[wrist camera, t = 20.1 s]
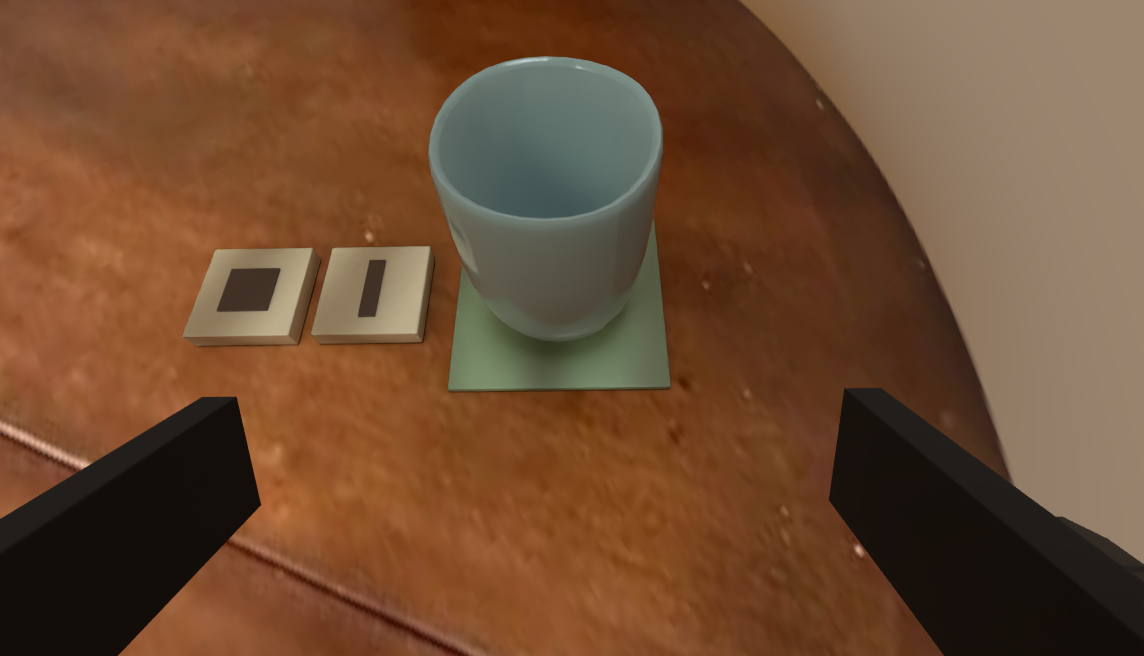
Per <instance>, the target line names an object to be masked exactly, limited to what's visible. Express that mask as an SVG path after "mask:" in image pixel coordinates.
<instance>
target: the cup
mask: <svg viewBox="0 0 1144 656" xmlns="http://www.w3.org/2000/svg"><path fill="white" fill-rule="evenodd" d="M428 161H429V166H430V171H431V176H432V181H433V185H434V188H435V192H436V195H437V198H438V201H439V204H440V207H441V209H442V212H443V215H444V218H445V221H446V223H447V226H448V229H449V231H450V234H451V237H452V240H453V242H454V245H455V247H456V250H457V252H458V255H459V257H460V260H461V262H462V264H463V266H464V269H465V271H466V273H467V275H468V277H469V279H470V281H471V283H472V285H473V286H474V288H475V290H476V292H477V294H478V296H479V297H480V299H481V300H482V302H483V303H484V305H485V306H486V307H487V308H488V309H489V310H490V311H491V313H492V314H493V315H494V316H495V317H496V318H497V319H498V320H499V321H500V322H502V323H503V324H505V325H506V326H508V327H509V328H511V329H512V330H514V331H515V332H518V333H520V334H523V335H525V336H527V337H531V338H535V339H539V340H543V341H556V342H561V341H574V340H578V339H582V338H586V337H589V336H591V335H593V334H595V333H597V332H599V331H601V330H602V329H604V328H605V327H606V326H607V325H609V324H610V323H611V322H612V321H613V320H614V319H615V318H616V317H617V316H618V314H619V313H620V312H621V311H622V309H623V308H624V307H625V305H626V303H627V302H628V300H629V298H630V296H631V294H632V292H633V290H634V287H635V285H636V283H637V280H638V278H639V275H640V272H641V268H642V265H643V261H644V257H645V253H646V249H647V245H648V241H649V237H650V232H651V227H652V222H653V217H654V212H655V206H656V200H657V194H658V189H659V183H660V176H661V169H662V161H663V128H662V123H661V119H660V114H659V112H658V110H657V108H656V106H655V104H654V102H653V100H652V98H651V97H650V96H649V94H648V93H647V92H646V91H645V90H644V89H643V88H642V87H641V85H640V84H638V83H637V82H636V81H634V80H633V79H631V78H630V77H628V76H627V75H625V74H624V73H621V72H619V71H617V70H615V69H612V68H610V67H608V66H605V65H601V64H598V63H594V62H591V61H586V60H580V59H574V58H567V57H532V58H522V59H517V60H512V61H507V62H503V63H500V64H497V65H495V66H492V67H489V68H486V69H484V70H483V71H481V72H479V73H477V74H475V75H474V76H472V77H470V78H469V79H468V80H466V81H465V82H464V83H463V84H461V85H460V86H459V87H458V88H457V89H456V90H455V91H454V92H453V93H452V94H451V95H450V97H449V98H448V99H447V100H446V101H445V103H444V104H443V106H442V108H441V110H440V111H439V113H438V115H437V117H436V119H435V121H434V124H433V127H432V130H431V133H430V136H429V147H428Z"/></svg>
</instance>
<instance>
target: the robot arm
mask: <svg viewBox="0 0 1144 656" xmlns="http://www.w3.org/2000/svg"><path fill="white" fill-rule="evenodd" d="M829 501H830V502H831V504H832V505H833V506H834V508H835V509H836V510H837V512H838V513H839V515H840V516H841V517H842V519H843V520H844V521H845V523H846V524H847V525H848V527H849V528H850V529H851V531H852V532H853V533H854V535H855V536H856V537H857V539H858V540H859V541H860V543H861V544H862V545H863V547H864V548H865V550H866V551H867V552H868V554H869V555H870V556H871V558H872V559H873V560H874V562H875V563H876V564H877V566H878V567H879V568H880V570H881V571H882V572H883V574H884V575H885V576H886V578H887V579H888V581H889V582H890V583H891V585H892V586H893V587H894V589H895V590H896V591H897V593H898V594H899V595H900V597H901V598H902V599H903V601H904V602H905V603H906V605H907V606H908V607H909V609H910V610H911V611H912V613H913V614H914V616H915V617H916V618H917V620H918V621H919V622H920V624H921V625H922V626H923V628H924V629H925V630H926V632H927V633H928V634H929V636H930V637H931V638H932V640H933V641H934V642H935V644H936V645H937V646H938V648H939V649H940V651H941V652H942V653H943V655H944V656H1144V564H1143V563H1141V562H1140V561H1138V560H1137V559H1135V558H1134V557H1133V556H1131V555H1130V554H1128V553H1127V552H1126V551H1124V550H1123V549H1121V548H1120V547H1119V546H1117V545H1116V544H1114V543H1113V542H1111V541H1110V540H1109V539H1107V538H1105V537H1103V536H1101V535H1099V534H1097V533H1095V532H1093V531H1091V530H1088V529H1086V528H1084V527H1082V526H1080V525H1078V524H1076V523H1074V522H1072V521H1070V520H1068V519H1066V518H1064V517H1055V516H1054V515H1052V514H1051V513H1050V512H1048V511H1047V510H1046V509H1044V508H1043V507H1042V506H1040V505H1039V504H1038V503H1036V502H1035V501H1034V500H1032V499H1031V498H1029V497H1028V496H1027V495H1025V494H1024V493H1023V492H1021V491H1020V490H1019V489H1017V488H1016V487H1015V486H1013V485H1012V484H1010V483H1009V482H1008V481H1006V480H1005V479H1004V478H1002V477H1001V476H1000V475H998V474H997V473H996V472H994V471H993V470H991V469H990V468H989V467H987V466H986V465H985V464H983V463H982V462H981V461H979V460H978V459H977V458H975V457H974V456H972V455H971V454H970V453H968V452H967V451H966V450H964V449H963V448H962V447H960V446H959V445H958V444H956V443H955V442H953V441H952V440H951V439H949V438H948V437H947V436H945V435H944V434H943V433H941V432H940V431H939V430H937V429H936V428H934V427H933V426H932V425H930V424H929V423H928V422H926V421H925V420H924V419H922V418H921V417H920V416H918V415H917V414H915V413H914V412H913V411H911V410H910V409H909V408H907V407H906V406H905V405H903V404H902V403H901V402H899V401H898V400H896V399H895V398H894V397H892V396H891V395H890V394H888V393H887V392H886V391H884V390H883V389H882V388H849V389H844V395H843V402H842V410H841V417H840V424H839V431H838V438H837V446H836V453H835V460H834V467H833V474H832V482H831V489H830V496H829ZM260 506H261V502H260V498H259V494H258V489H257V485H256V480H255V476H254V472H253V467H252V463H251V458H250V454H249V450H248V445H247V441H246V436H245V432H244V427H243V423H242V419H241V414H240V410H239V405H238V401H237V397H202V398H200V399H198V400H197V401H195V402H193V403H192V404H190V405H188V406H187V407H185V408H183V409H182V410H180V411H178V412H177V413H175V414H173V415H172V416H170V417H168V418H167V419H165V420H163V421H162V422H160V423H158V424H157V425H155V426H154V427H152V428H150V429H149V430H147V431H145V432H144V433H142V434H140V435H139V436H137V437H135V438H134V439H132V440H130V441H129V442H127V443H125V444H124V445H122V446H120V447H119V448H117V449H115V450H114V451H112V452H110V453H109V454H107V455H106V456H104V457H102V458H101V459H99V460H97V461H96V462H94V463H92V464H91V465H89V466H87V467H86V468H84V469H82V470H81V471H79V472H77V473H76V474H74V475H72V476H71V477H69V478H67V479H66V480H64V481H62V482H61V483H59V484H58V485H56V486H54V487H53V488H51V489H49V490H48V491H46V492H44V493H43V494H41V495H39V496H38V497H36V498H34V499H33V500H31V501H29V502H28V503H26V504H24V505H23V506H21V507H19V508H18V509H16V510H14V511H13V512H11V513H10V514H8V515H6V516H5V517H3V518H1V519H0V656H118V655H119V654H120V653H121V652H122V651H123V650H124V649H125V648H126V647H127V645H128V644H129V643H130V642H131V641H132V640H133V639H134V638H135V637H136V636H137V635H138V634H139V633H140V632H141V631H142V630H143V629H144V628H145V627H146V626H147V624H148V623H149V622H150V621H151V620H152V619H153V618H154V617H155V616H156V615H157V614H158V613H159V612H160V611H161V610H162V609H163V608H164V607H165V606H166V604H167V603H168V602H169V601H170V600H171V599H172V598H173V597H174V596H175V595H176V594H177V593H178V592H179V591H180V590H181V589H182V588H183V587H184V586H185V585H186V583H187V582H188V581H189V580H190V579H191V578H192V577H193V576H194V575H195V574H196V573H197V572H198V571H199V570H200V569H201V568H202V567H203V566H204V565H205V563H206V562H207V561H208V560H209V559H210V558H211V557H212V556H213V555H214V554H215V553H216V552H217V551H218V550H219V549H220V548H221V547H222V546H223V545H224V543H225V542H226V541H227V540H228V539H229V538H230V537H231V536H232V535H233V534H234V533H235V532H236V531H237V530H238V529H239V528H240V527H241V526H242V525H243V524H244V522H245V521H246V520H247V519H248V518H249V517H250V516H251V515H252V514H253V513H254V512H255V511H256V510H257V509H258V508H259V507H260Z"/></svg>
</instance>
